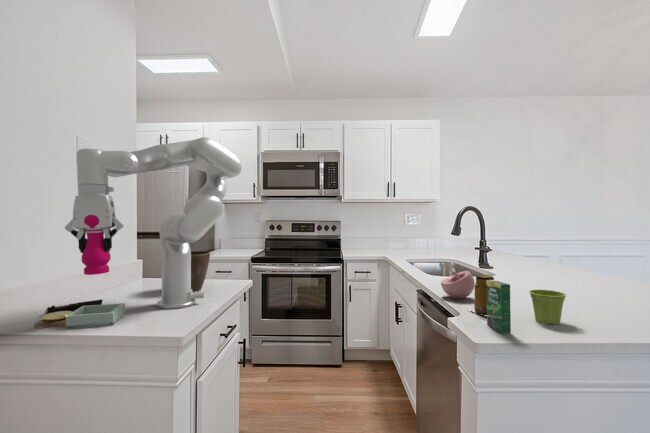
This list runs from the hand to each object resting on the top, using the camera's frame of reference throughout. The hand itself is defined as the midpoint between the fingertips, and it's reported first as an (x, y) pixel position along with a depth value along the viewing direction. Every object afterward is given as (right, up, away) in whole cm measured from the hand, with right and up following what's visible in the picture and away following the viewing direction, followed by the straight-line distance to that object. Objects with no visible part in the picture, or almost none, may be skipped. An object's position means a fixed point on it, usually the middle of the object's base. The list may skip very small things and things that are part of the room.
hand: (95, 251), depth 100 cm
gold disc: (-10, -21, -2) cm, 23 cm away
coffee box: (+117, -21, -7) cm, 119 cm away
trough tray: (+1, -21, 0) cm, 21 cm away
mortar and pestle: (+120, -21, +28) cm, 125 cm away
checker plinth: (-10, -21, -2) cm, 23 cm away
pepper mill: (0, -7, 0) cm, 7 cm away
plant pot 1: (+12, -21, +42) cm, 48 cm away
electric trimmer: (-14, -21, +10) cm, 28 cm away
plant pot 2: (+135, -21, -1) cm, 136 cm away
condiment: (+121, -21, +7) cm, 123 cm away
